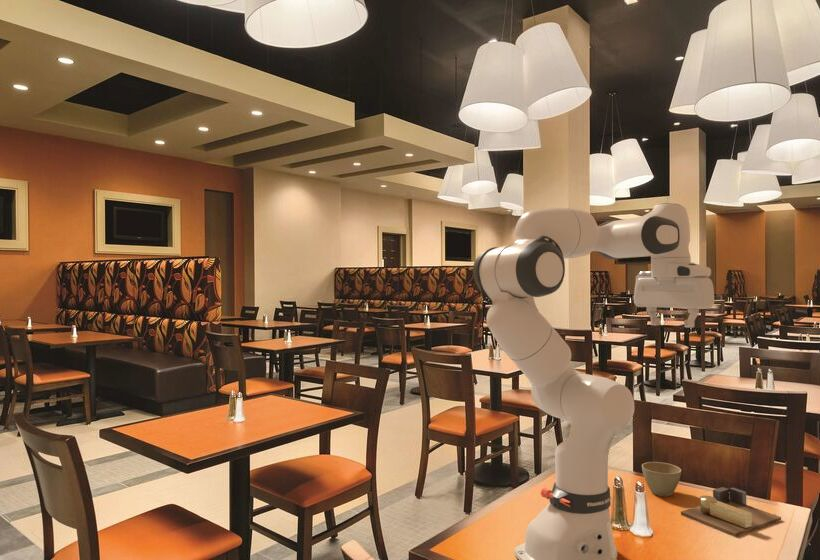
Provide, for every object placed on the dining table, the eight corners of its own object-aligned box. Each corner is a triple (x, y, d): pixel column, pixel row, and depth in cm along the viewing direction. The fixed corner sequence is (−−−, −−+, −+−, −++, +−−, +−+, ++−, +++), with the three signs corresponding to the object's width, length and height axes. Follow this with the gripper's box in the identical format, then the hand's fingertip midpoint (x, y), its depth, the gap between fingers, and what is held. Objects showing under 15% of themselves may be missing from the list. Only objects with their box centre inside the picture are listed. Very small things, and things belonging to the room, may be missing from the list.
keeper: (731, 509, 139) (731, 496, 139) (713, 502, 144) (712, 489, 144) (746, 505, 142) (746, 491, 142) (727, 498, 146) (727, 485, 146)
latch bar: (697, 510, 138) (696, 497, 138) (706, 507, 140) (706, 494, 140) (743, 528, 128) (743, 514, 128) (753, 525, 129) (752, 511, 129)
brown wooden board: (735, 536, 126) (735, 533, 126) (680, 514, 139) (680, 511, 139) (781, 520, 134) (781, 517, 134) (725, 500, 147) (725, 497, 147)
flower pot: (677, 503, 146) (676, 476, 146) (638, 494, 152) (637, 469, 152) (685, 491, 154) (684, 465, 154) (647, 484, 160) (646, 459, 160)
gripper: (627, 271, 143) (628, 324, 143) (700, 268, 125) (701, 329, 125) (644, 271, 146) (645, 323, 146) (717, 268, 128) (719, 328, 128)
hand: (672, 326), depth 135 cm, fingers open, 8 cm apart
